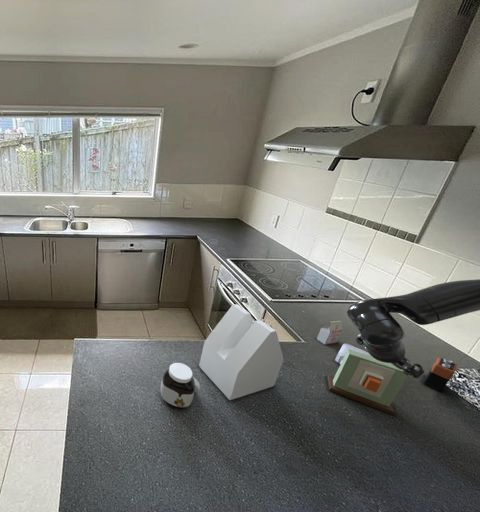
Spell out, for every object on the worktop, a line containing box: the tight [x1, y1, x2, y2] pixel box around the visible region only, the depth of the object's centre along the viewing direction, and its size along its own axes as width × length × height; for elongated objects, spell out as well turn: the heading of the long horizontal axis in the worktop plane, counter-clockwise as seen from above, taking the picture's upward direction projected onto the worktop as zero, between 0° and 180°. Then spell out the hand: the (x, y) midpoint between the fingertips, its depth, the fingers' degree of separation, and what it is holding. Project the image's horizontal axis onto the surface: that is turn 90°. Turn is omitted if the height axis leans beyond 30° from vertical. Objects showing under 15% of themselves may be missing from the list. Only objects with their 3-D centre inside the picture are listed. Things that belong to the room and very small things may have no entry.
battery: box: [423, 357, 458, 392], centre depth 98 cm, size 4×7×10 cm, turn 124°
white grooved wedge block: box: [198, 303, 285, 401], centre depth 95 cm, size 19×15×25 cm
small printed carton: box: [316, 320, 343, 346], centre depth 118 cm, size 4×7×10 cm, turn 103°
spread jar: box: [160, 362, 201, 409], centre depth 89 cm, size 12×11×12 cm
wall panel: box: [326, 349, 409, 415], centre depth 91 cm, size 16×8×15 cm, turn 57°
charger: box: [334, 343, 371, 366], centre depth 105 cm, size 5×9×15 cm
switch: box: [364, 376, 381, 392], centre depth 87 cm, size 3×2×4 cm
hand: (390, 361), depth 83 cm, fingers open, 8 cm apart
